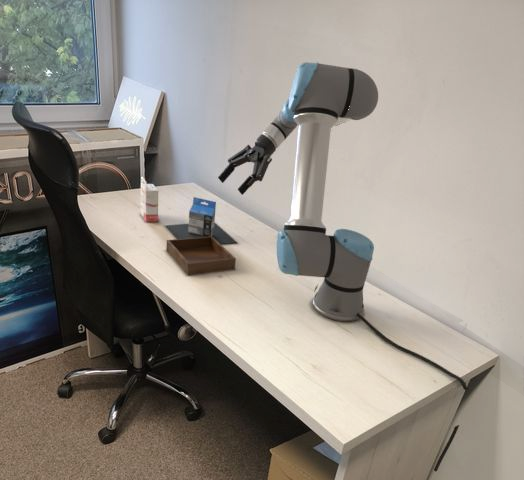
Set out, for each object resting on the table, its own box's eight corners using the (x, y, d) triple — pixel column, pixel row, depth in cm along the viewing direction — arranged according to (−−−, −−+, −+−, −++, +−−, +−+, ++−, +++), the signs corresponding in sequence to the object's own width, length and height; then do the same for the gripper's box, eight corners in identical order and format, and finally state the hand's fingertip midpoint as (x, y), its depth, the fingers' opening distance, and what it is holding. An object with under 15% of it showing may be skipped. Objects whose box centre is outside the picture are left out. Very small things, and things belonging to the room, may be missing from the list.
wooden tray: (234, 269, 157) (235, 258, 155) (187, 275, 149) (188, 263, 147) (211, 246, 170) (211, 236, 168) (166, 250, 162) (166, 239, 160)
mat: (236, 243, 175) (237, 242, 175) (185, 248, 166) (185, 247, 166) (213, 222, 189) (213, 222, 189) (165, 226, 179) (165, 225, 179)
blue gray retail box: (187, 233, 176) (189, 199, 169) (191, 229, 179) (192, 196, 172) (210, 238, 175) (212, 204, 168) (213, 234, 178) (216, 201, 171)
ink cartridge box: (158, 221, 182) (159, 182, 174) (145, 222, 180) (145, 182, 172) (153, 213, 188) (153, 175, 180) (140, 214, 186) (139, 175, 178)
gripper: (294, 158, 168) (254, 204, 168) (255, 140, 183) (218, 182, 184) (285, 142, 162) (243, 190, 162) (245, 125, 177) (206, 168, 178)
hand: (229, 186), depth 173 cm, fingers open, 13 cm apart
